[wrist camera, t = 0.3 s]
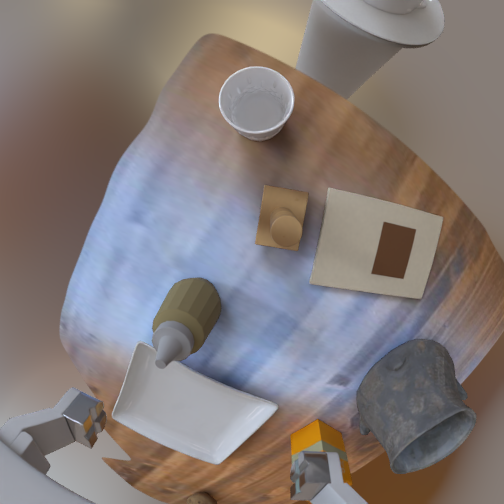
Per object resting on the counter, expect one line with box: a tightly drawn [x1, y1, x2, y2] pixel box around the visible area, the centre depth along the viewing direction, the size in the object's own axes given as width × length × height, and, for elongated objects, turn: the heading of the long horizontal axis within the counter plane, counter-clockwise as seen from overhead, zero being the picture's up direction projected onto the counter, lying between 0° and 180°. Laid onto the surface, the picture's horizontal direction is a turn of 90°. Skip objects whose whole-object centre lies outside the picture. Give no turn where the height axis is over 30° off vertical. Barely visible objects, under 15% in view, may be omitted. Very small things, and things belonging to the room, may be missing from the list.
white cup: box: [219, 67, 294, 141], centre depth 31 cm, size 8×8×10 cm
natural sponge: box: [187, 492, 217, 504], centre depth 55 cm, size 9×9×10 cm
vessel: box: [357, 339, 476, 474], centre depth 35 cm, size 22×22×20 cm
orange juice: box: [291, 419, 352, 504], centre depth 40 cm, size 8×9×20 cm
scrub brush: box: [255, 185, 309, 251], centre depth 32 cm, size 8×6×13 cm
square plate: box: [112, 341, 279, 465], centre depth 47 cm, size 27×27×4 cm
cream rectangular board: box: [309, 188, 443, 299], centre depth 39 cm, size 14×20×1 cm
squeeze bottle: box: [152, 278, 222, 369], centre depth 34 cm, size 8×8×18 cm
